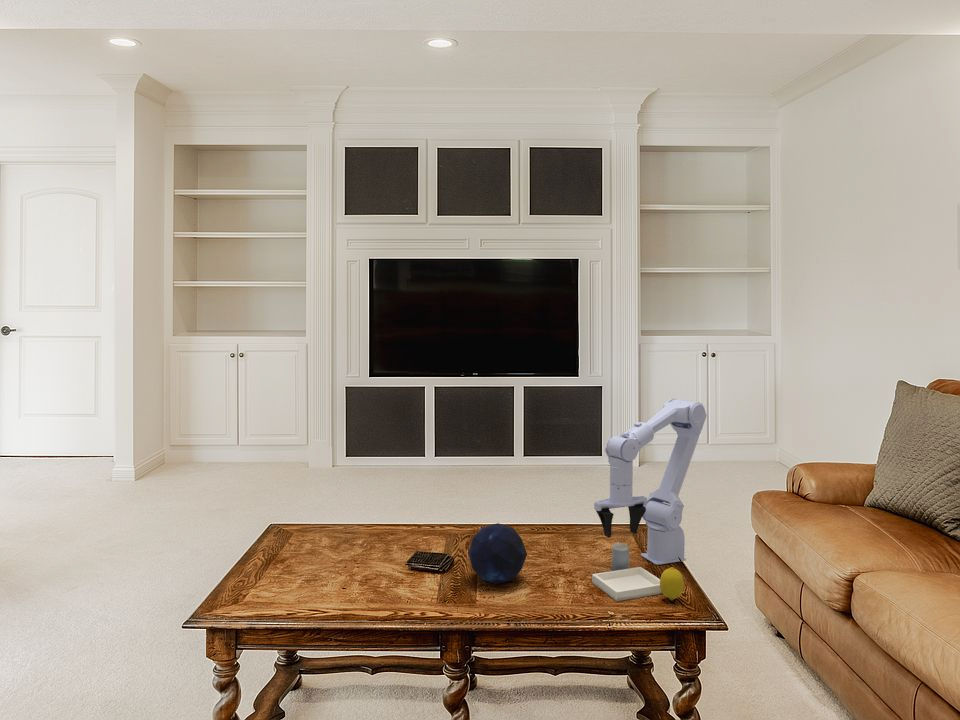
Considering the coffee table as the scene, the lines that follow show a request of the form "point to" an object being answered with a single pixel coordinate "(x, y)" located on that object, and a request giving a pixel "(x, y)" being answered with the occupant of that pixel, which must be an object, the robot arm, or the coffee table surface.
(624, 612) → the coffee table surface
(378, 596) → the coffee table surface
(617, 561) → the cylinder
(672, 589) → the lemon
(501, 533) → the decorative orb
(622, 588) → the tray
